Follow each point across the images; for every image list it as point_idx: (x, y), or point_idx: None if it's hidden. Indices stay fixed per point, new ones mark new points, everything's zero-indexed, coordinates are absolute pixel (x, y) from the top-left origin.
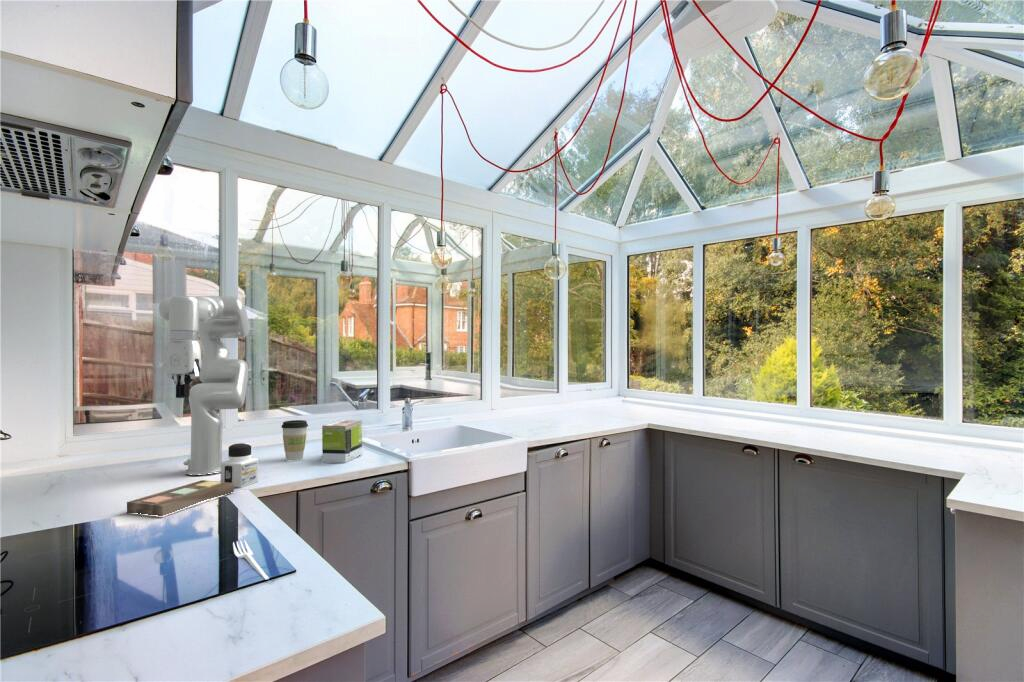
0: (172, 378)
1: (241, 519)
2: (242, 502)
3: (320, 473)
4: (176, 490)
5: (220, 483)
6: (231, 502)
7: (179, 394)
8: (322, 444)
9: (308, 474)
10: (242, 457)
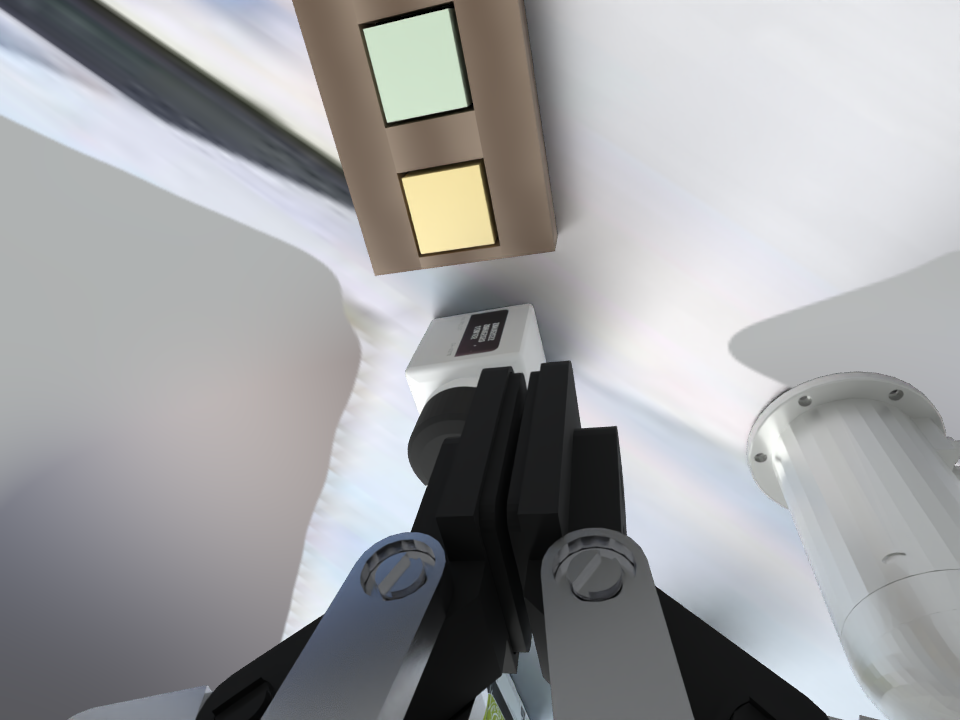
0: (805, 704)
1: (14, 30)
2: (229, 183)
3: (367, 543)
4: (477, 65)
5: (420, 247)
6: (263, 164)
7: (484, 391)
8: (487, 712)
9: (390, 524)
10: (423, 407)
